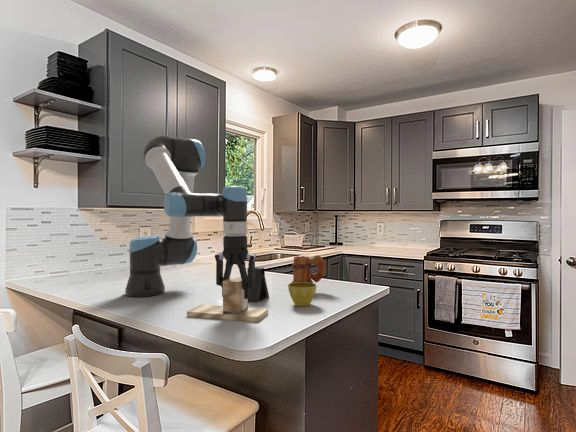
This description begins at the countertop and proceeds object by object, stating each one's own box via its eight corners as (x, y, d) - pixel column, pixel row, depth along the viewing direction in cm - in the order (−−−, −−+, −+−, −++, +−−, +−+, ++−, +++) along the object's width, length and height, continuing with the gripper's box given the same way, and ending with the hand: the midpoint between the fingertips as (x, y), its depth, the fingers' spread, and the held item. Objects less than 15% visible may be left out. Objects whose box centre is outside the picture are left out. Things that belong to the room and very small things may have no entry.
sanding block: (223, 313, 110) (222, 281, 110) (233, 306, 118) (233, 276, 117) (237, 314, 108) (237, 282, 108) (247, 307, 116) (247, 277, 116)
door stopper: (256, 302, 130) (256, 269, 129) (242, 300, 132) (242, 268, 132) (269, 297, 138) (268, 266, 137) (256, 295, 140) (255, 265, 140)
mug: (288, 291, 147) (287, 255, 147) (295, 287, 154) (294, 253, 154) (322, 294, 141) (321, 256, 141) (327, 290, 149) (327, 254, 149)
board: (187, 316, 113) (186, 311, 113) (201, 308, 121) (201, 304, 121) (257, 322, 106) (257, 316, 106) (267, 313, 115) (267, 309, 115)
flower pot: (312, 300, 132) (312, 281, 132) (319, 307, 122) (319, 286, 122) (286, 302, 130) (285, 282, 130) (290, 309, 120) (290, 288, 120)
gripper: (203, 235, 112) (204, 309, 112) (257, 236, 107) (258, 313, 107) (215, 234, 119) (215, 303, 119) (266, 234, 114) (266, 307, 114)
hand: (235, 308), depth 113 cm, fingers closed on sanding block, 5 cm apart
